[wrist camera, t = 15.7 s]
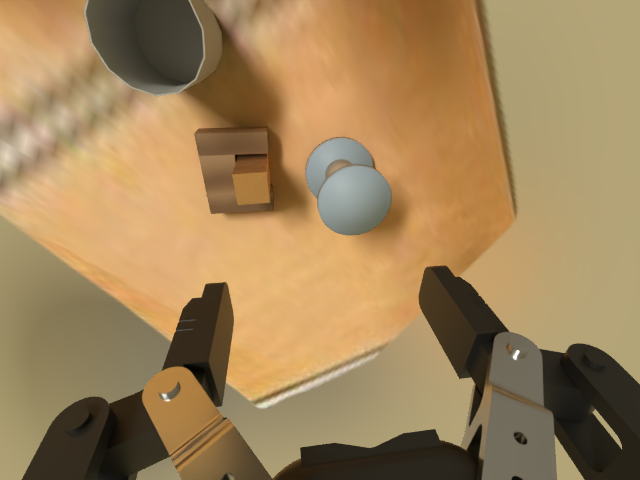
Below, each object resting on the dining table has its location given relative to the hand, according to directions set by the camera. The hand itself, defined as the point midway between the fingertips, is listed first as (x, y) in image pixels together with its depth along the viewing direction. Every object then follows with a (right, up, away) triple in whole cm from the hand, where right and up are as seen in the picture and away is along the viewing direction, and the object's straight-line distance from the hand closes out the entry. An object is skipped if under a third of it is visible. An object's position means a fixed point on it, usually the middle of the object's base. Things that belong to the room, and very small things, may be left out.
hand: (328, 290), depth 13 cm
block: (-9, +12, +27) cm, 31 cm away
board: (-11, +11, +27) cm, 31 cm away
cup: (-15, +23, +20) cm, 33 cm away
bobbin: (+2, +11, +29) cm, 31 cm away
